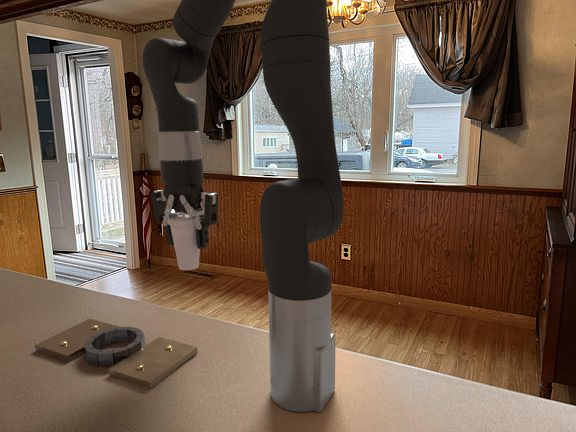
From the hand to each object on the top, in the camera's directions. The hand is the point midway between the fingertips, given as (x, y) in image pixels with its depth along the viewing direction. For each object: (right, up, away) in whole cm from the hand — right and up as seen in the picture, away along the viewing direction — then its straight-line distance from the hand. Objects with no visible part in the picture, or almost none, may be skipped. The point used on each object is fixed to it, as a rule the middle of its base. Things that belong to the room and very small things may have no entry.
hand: (187, 245), depth 80 cm
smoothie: (0, -4, +1) cm, 4 cm away
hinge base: (-13, -19, -2) cm, 23 cm away
